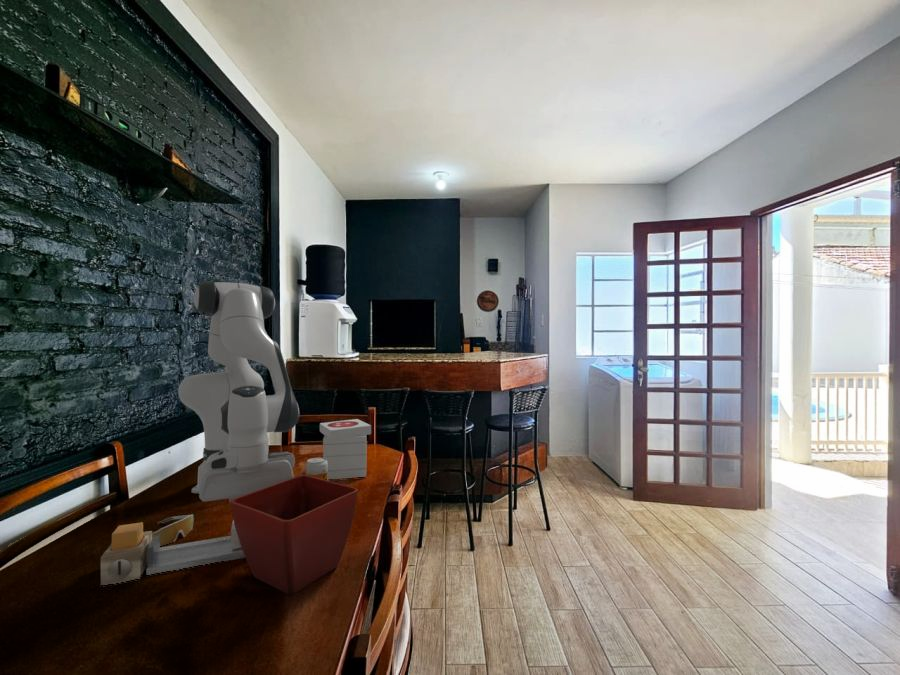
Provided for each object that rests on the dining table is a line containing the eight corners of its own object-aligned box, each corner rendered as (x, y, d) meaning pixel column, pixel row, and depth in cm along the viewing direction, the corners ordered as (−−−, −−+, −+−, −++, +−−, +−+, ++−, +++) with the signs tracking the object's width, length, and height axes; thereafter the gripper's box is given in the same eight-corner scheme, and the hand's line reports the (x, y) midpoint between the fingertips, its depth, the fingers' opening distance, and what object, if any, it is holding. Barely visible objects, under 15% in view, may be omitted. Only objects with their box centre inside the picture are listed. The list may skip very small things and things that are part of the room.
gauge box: (117, 562, 95) (117, 536, 95) (152, 556, 97) (152, 530, 97) (99, 588, 85) (99, 558, 85) (138, 581, 87) (138, 552, 87)
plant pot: (286, 612, 77) (286, 520, 77) (227, 580, 87) (227, 500, 87) (360, 564, 93) (360, 488, 93) (303, 542, 104) (303, 474, 104)
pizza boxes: (371, 455, 179) (370, 413, 179) (371, 479, 149) (371, 428, 149) (324, 458, 175) (324, 415, 175) (315, 483, 146) (315, 431, 146)
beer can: (321, 516, 118) (321, 463, 118) (301, 515, 119) (301, 462, 119) (331, 508, 124) (331, 457, 124) (313, 506, 125) (312, 456, 125)
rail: (156, 557, 97) (156, 533, 97) (274, 537, 106) (273, 515, 106) (146, 576, 89) (146, 550, 89) (274, 552, 99) (273, 528, 99)
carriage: (233, 537, 102) (233, 500, 102) (265, 532, 105) (265, 496, 105) (231, 551, 96) (230, 511, 96) (264, 545, 99) (264, 506, 99)
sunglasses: (154, 555, 98) (152, 533, 98) (108, 554, 103) (106, 534, 103) (205, 528, 112) (203, 509, 112) (163, 529, 116) (161, 511, 116)
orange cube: (119, 541, 92) (118, 525, 92) (143, 537, 94) (143, 522, 94) (111, 550, 88) (111, 534, 88) (137, 546, 90) (137, 530, 90)
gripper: (294, 447, 107) (294, 501, 107) (202, 456, 99) (202, 514, 99) (295, 453, 101) (295, 510, 102) (197, 464, 94) (198, 525, 94)
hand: (248, 513), depth 100 cm, fingers open, 3 cm apart
